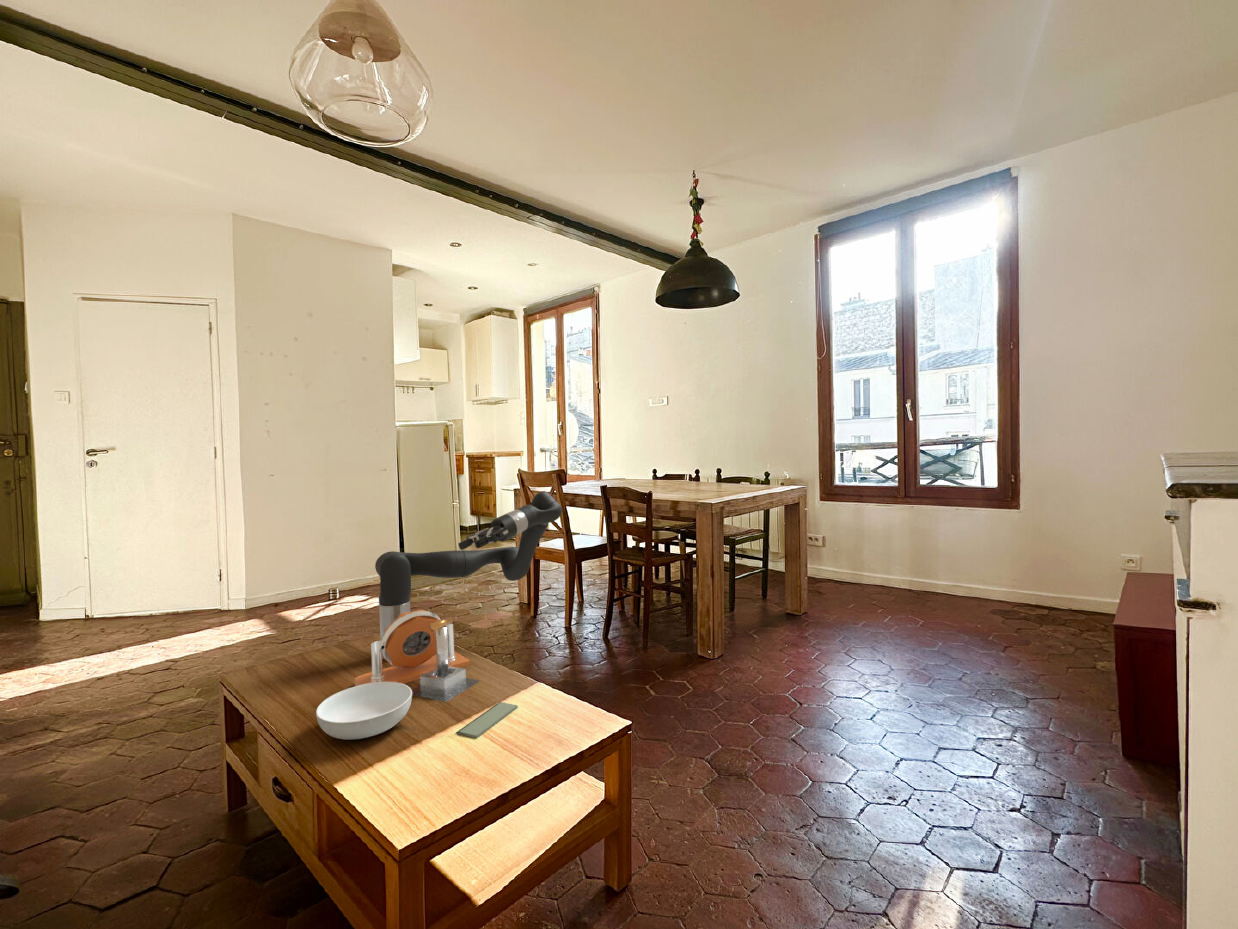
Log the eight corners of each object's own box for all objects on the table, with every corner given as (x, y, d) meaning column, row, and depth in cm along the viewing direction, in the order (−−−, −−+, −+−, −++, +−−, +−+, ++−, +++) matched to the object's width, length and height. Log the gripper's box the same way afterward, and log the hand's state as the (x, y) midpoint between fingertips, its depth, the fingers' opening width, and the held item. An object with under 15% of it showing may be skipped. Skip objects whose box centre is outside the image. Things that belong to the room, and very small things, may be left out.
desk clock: (470, 669, 169) (468, 602, 168) (365, 699, 150) (362, 625, 149) (454, 657, 179) (451, 595, 178) (352, 685, 160) (349, 615, 159)
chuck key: (446, 680, 158) (443, 615, 158) (458, 683, 156) (456, 617, 156) (428, 690, 152) (425, 623, 151) (440, 693, 150) (438, 624, 149)
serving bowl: (323, 717, 141) (322, 690, 140) (412, 701, 148) (411, 676, 148) (310, 760, 121) (308, 729, 121) (413, 740, 129) (412, 710, 128)
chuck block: (441, 676, 164) (441, 659, 163) (480, 684, 158) (480, 666, 157) (405, 697, 151) (404, 678, 151) (445, 705, 145) (445, 686, 145)
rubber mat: (467, 697, 150) (467, 695, 150) (517, 707, 143) (517, 705, 143) (423, 725, 135) (423, 723, 135) (476, 738, 128) (476, 735, 128)
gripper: (527, 534, 171) (485, 557, 159) (500, 537, 181) (458, 558, 169) (519, 511, 170) (476, 532, 158) (492, 516, 180) (450, 535, 168)
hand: (467, 546), depth 164 cm, fingers open, 8 cm apart
